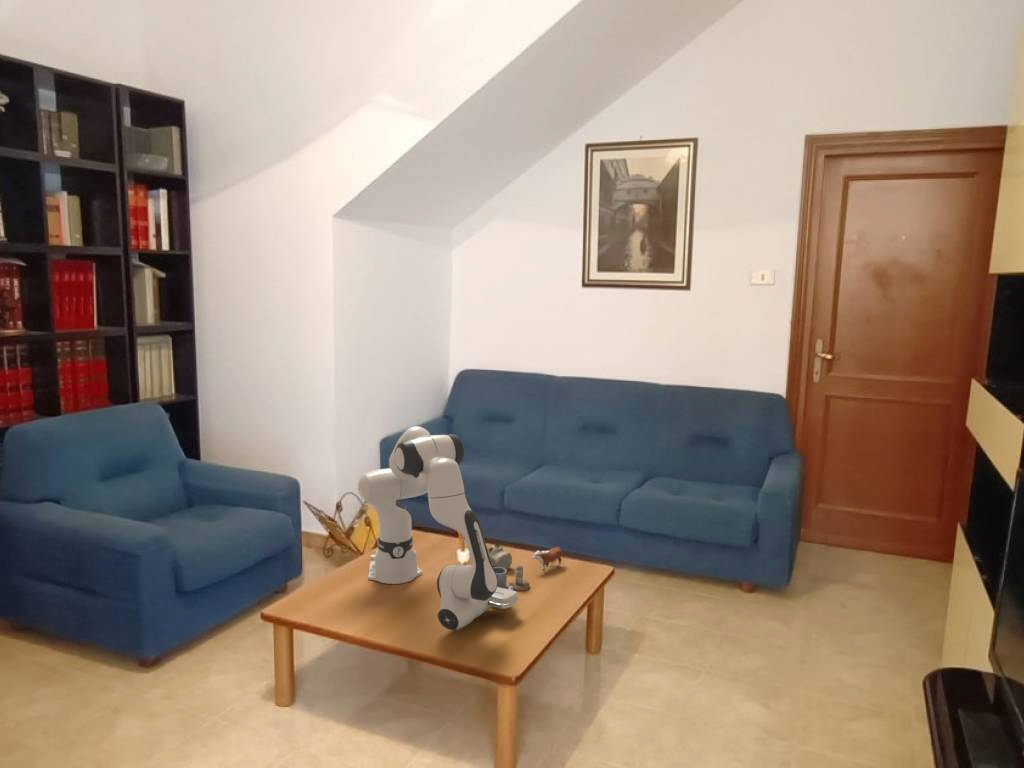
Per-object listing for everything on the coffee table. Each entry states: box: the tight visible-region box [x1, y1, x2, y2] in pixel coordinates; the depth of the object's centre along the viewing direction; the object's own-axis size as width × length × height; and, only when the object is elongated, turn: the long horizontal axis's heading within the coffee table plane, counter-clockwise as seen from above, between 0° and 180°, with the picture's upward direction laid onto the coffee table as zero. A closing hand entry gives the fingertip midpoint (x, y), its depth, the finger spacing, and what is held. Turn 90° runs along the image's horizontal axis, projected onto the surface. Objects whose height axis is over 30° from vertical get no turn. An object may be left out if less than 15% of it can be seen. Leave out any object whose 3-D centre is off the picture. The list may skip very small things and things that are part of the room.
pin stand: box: [508, 564, 530, 592], centre depth 262 cm, size 7×7×8 cm
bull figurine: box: [532, 546, 562, 574], centre depth 278 cm, size 4×13×8 cm, turn 132°
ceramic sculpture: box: [487, 544, 513, 570], centre depth 280 cm, size 11×9×15 cm
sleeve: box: [493, 567, 508, 589], centre depth 249 cm, size 6×6×11 cm
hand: (498, 584), depth 250 cm, fingers open, 8 cm apart
